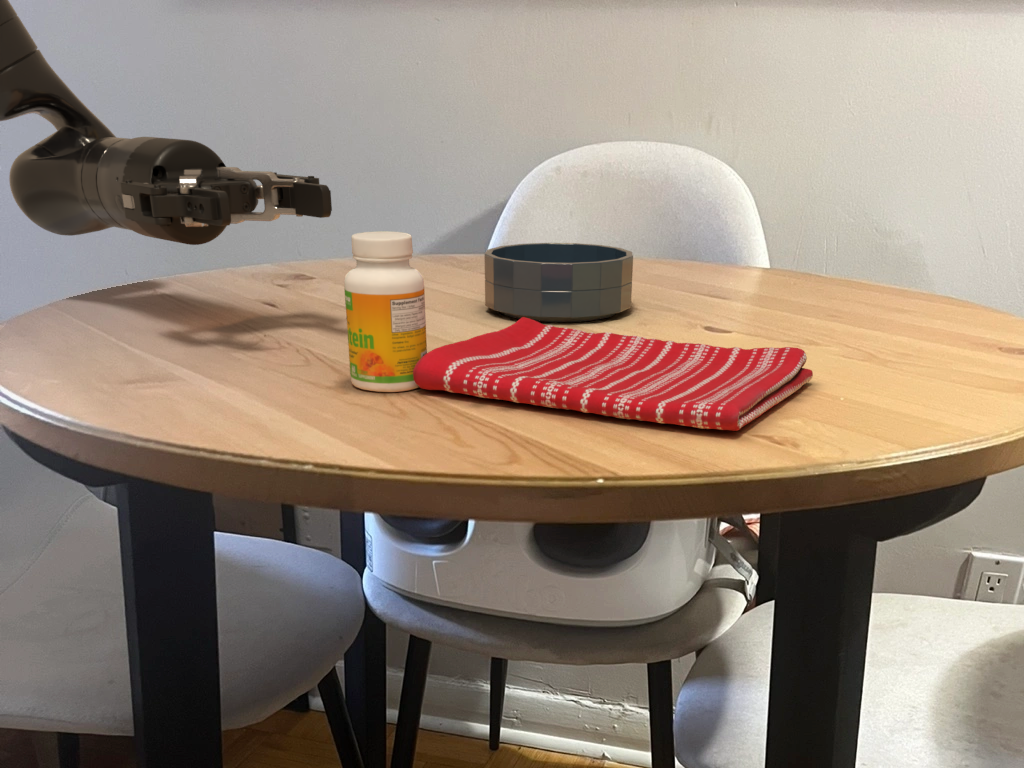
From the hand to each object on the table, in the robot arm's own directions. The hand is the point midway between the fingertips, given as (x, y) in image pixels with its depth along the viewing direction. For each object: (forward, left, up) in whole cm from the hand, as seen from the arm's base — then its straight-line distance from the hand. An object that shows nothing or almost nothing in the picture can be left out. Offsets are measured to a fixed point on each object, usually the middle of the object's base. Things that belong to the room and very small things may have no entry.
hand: (278, 205), depth 83 cm
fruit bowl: (+27, -10, -11) cm, 31 cm away
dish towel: (+2, -26, -11) cm, 28 cm away
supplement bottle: (-4, -11, -11) cm, 16 cm away
